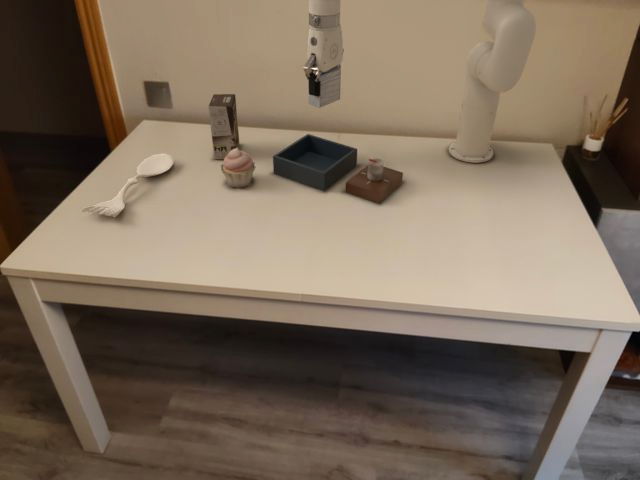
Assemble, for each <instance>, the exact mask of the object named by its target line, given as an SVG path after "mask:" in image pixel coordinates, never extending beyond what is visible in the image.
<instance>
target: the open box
mask: <svg viewBox="0 0 640 480" xmlns="http://www.w3.org/2000/svg"><path fill="white" fill-rule="evenodd" d="M357 161H358V148H357V147H356V148H355V147H352V146H350V145H346V144H343V143H339V142H336V141H332V140H330V139H326V138H323V137H320V136H316V135H313V134H310V133H307V134H305V135H304V136H302V137H301V138H299V139H297V140H295V141H294V142H293V143H291V144H290V145H288V146H286V147H285V148H283V149H282V150H280V151H279V152H277V153H276V154H274V155H273V156H272V169H273V174H274V175H277V176H279V177H282V178H284V179H287V180H290V181H293V182H296V183H299V184H302V185H304V186H307V187H310V188H313V189H316V190H319V191H320V192H326V191H327V190H329V188H331V187H332V186H334V185H335V184H336V183H337V182H338V181H339V180H341V179H342V178H343V177H345V176H346V175H347V174H349V173H350V172H351V171H352V170H354V169H355V168H356V167H357V164H358V163H357Z"/></svg>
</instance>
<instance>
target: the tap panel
mask: <svg viewBox="0 0 640 480" xmlns="http://www.w3.org/2000/svg"><path fill="white" fill-rule="evenodd" d="M367 173H368V164H367V165H365V166H364V167H363V168H361V170H359V171H358V172H356V173H355V174H354V175H352V177H350V178H349V179H348V180H347V181H346V182H345V189H344V192H345V193H346V194H349V195H352V196H355V197H358V198H360V199H363V200H367V201H369V202H372V203H374V204H377V205H380V204H381V203H382V202H383V201H384V200H385V199H386V198H387V197H388V196H390V194H391V193H393V192H394V191H395V189H397V188H398V187H399V186H400V185H401V184H402V183H403V178H404V172H403V171H399V170H396V169H393V168H389V167H387V166H384V167H383V178H382V179H381V180H379V181H372V180H369V179H368V178H367Z"/></svg>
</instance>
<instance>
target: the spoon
mask: <svg viewBox="0 0 640 480" xmlns="http://www.w3.org/2000/svg"><path fill="white" fill-rule="evenodd" d="M173 165H174V157H173V156H171V155H170V154H168V153H155V154H152V155H150V156H148V157H146V158H145V159H143V160H142V161H141V162H140V163H139V164H138V165H137V168H136V173H137V174H136V175H135V176H133V177H130V178H128V179H127V180H126V183H125V184H124V185H123V186H122V188H121V189H120V190H119V192H118V193H117V195H115V196H114V197H113V198H111V199H109V200H104V201H102V202H99V203H96V204H92V205H89V206H85V207H83V208H82V212H83V213H85V212H88V213H90V214H91V213H92V214H93V215H96V214H98V215H100V216H103V215H104V216H105V217H107V216H108V217H112V218H116V217H117V216H119V214H121V212H122V211H123V210H124V209H125V207H126V205H125V201H124V199H125V195H126V193H127V191H128V190H129V188H130V187H132V186H134V185H135V184H138V183H139V179H142V178H147V177H155V176H160V175H161V174H164V173H166V172H168V170H170V169H171V168H172V166H173Z"/></svg>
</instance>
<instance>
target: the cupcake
mask: <svg viewBox="0 0 640 480" xmlns="http://www.w3.org/2000/svg"><path fill="white" fill-rule="evenodd" d="M255 164H256V162H254V160H253V157H251V156H250V155H249V154H248V153H247V152H246V151H244V150H240V148H239V149H238V148H236V149H233V150H231V151H230V152H229V154H228V155H227V156H226V157H225V158H224V159H223V163H222V164H220V169H221V170H220V171H221V172H222V174H223V176H224V177H225V180H226V183H227V185H228V186H229V187H232V188H235V189H236V188H237V189H238V188H240V189H241V188H244V187H245V188H246V187H248V186H249V185H251V183H252V180H253V176H254V175H253V174H254V172H255V170H256V168H257V166H256V165H255Z"/></svg>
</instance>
